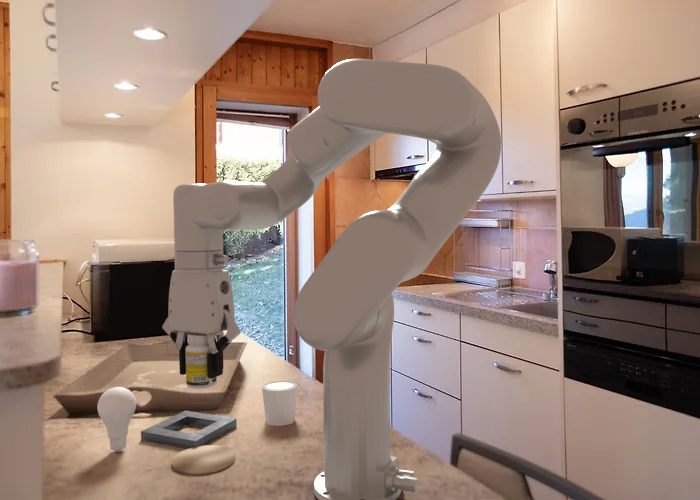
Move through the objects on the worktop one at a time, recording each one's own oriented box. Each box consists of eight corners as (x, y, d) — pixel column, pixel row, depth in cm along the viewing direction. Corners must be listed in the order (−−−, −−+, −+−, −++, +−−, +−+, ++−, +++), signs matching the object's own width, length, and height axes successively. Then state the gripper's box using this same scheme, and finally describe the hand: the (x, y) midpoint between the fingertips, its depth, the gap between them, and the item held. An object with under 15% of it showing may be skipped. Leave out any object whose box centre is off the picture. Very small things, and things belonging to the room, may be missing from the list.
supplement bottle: (204, 379, 96) (203, 329, 95) (222, 384, 93) (221, 332, 92) (180, 385, 92) (179, 333, 92) (197, 391, 89) (196, 337, 89)
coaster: (247, 453, 96) (247, 450, 96) (210, 478, 87) (210, 474, 87) (198, 445, 100) (198, 441, 100) (158, 468, 91) (158, 464, 91)
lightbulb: (144, 451, 97) (142, 387, 97) (107, 462, 93) (105, 395, 92) (128, 441, 102) (126, 380, 101) (92, 451, 97) (90, 387, 97)
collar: (236, 426, 109) (236, 418, 108) (195, 450, 98) (195, 441, 97) (185, 418, 113) (185, 410, 113) (141, 440, 102) (140, 431, 102)
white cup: (255, 423, 110) (254, 387, 110) (274, 412, 116) (274, 378, 116) (285, 429, 107) (285, 392, 107) (304, 417, 113) (303, 382, 113)
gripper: (257, 261, 92) (259, 374, 93) (172, 259, 98) (175, 364, 99) (229, 265, 85) (231, 386, 86) (140, 262, 91) (143, 375, 92)
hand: (201, 373), depth 93 cm, fingers closed on supplement bottle, 4 cm apart
